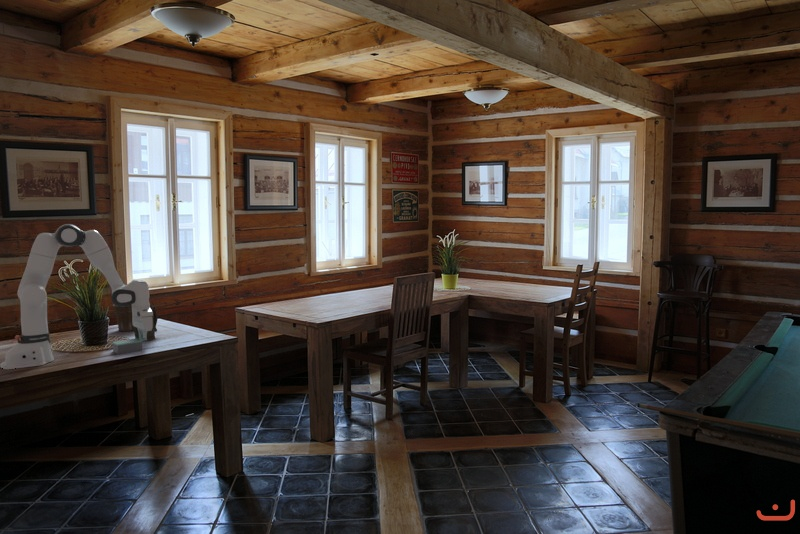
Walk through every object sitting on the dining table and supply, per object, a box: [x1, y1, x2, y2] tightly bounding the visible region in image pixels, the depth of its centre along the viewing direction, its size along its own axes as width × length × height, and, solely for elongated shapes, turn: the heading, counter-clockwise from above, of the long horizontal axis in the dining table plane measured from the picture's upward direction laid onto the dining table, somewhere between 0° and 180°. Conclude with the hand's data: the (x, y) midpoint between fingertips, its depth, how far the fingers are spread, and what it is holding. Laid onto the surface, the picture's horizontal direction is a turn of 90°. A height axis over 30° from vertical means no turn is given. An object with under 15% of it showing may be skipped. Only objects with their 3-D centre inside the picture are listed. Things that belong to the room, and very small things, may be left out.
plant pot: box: [112, 303, 134, 333], centre depth 376 cm, size 16×16×16 cm
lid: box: [112, 332, 147, 346], centre depth 321 cm, size 16×8×4 cm, turn 131°
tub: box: [112, 342, 143, 355], centre depth 320 cm, size 12×8×5 cm, turn 131°
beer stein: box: [133, 304, 159, 343], centre depth 349 cm, size 15×11×20 cm
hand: (142, 337), depth 325 cm, fingers open, 4 cm apart
